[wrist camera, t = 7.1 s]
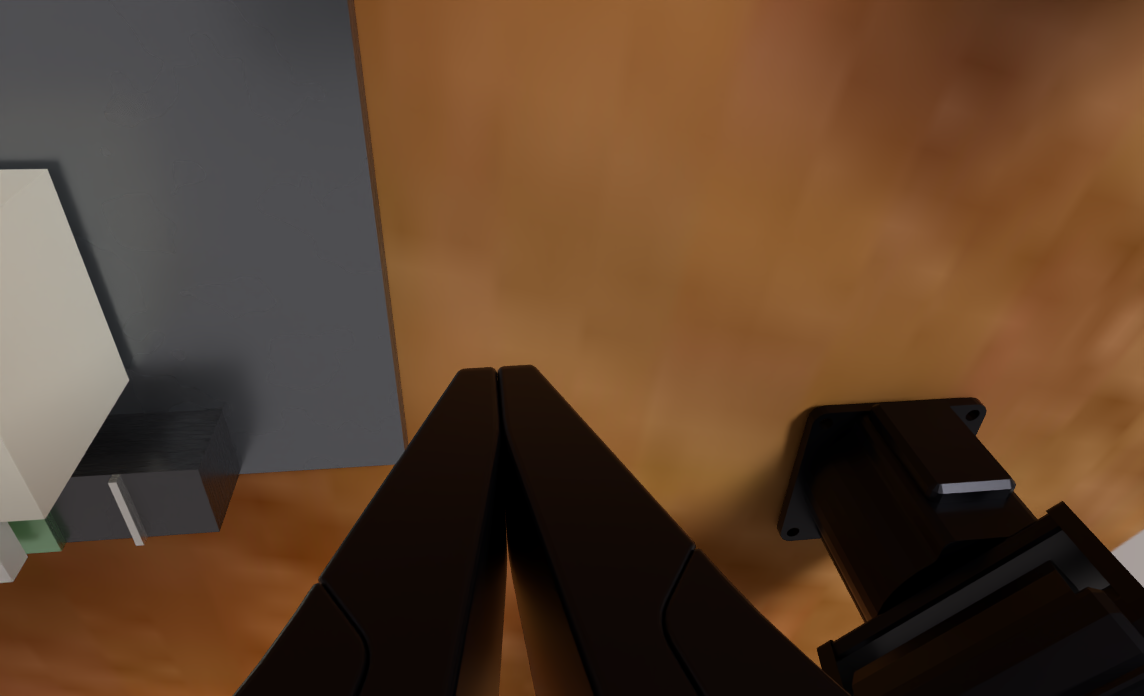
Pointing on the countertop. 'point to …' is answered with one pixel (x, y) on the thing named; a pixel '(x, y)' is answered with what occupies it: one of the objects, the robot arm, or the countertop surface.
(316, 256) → the gauge bench
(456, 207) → the countertop surface
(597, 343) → the countertop surface
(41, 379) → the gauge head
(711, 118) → the countertop surface
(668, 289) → the countertop surface
